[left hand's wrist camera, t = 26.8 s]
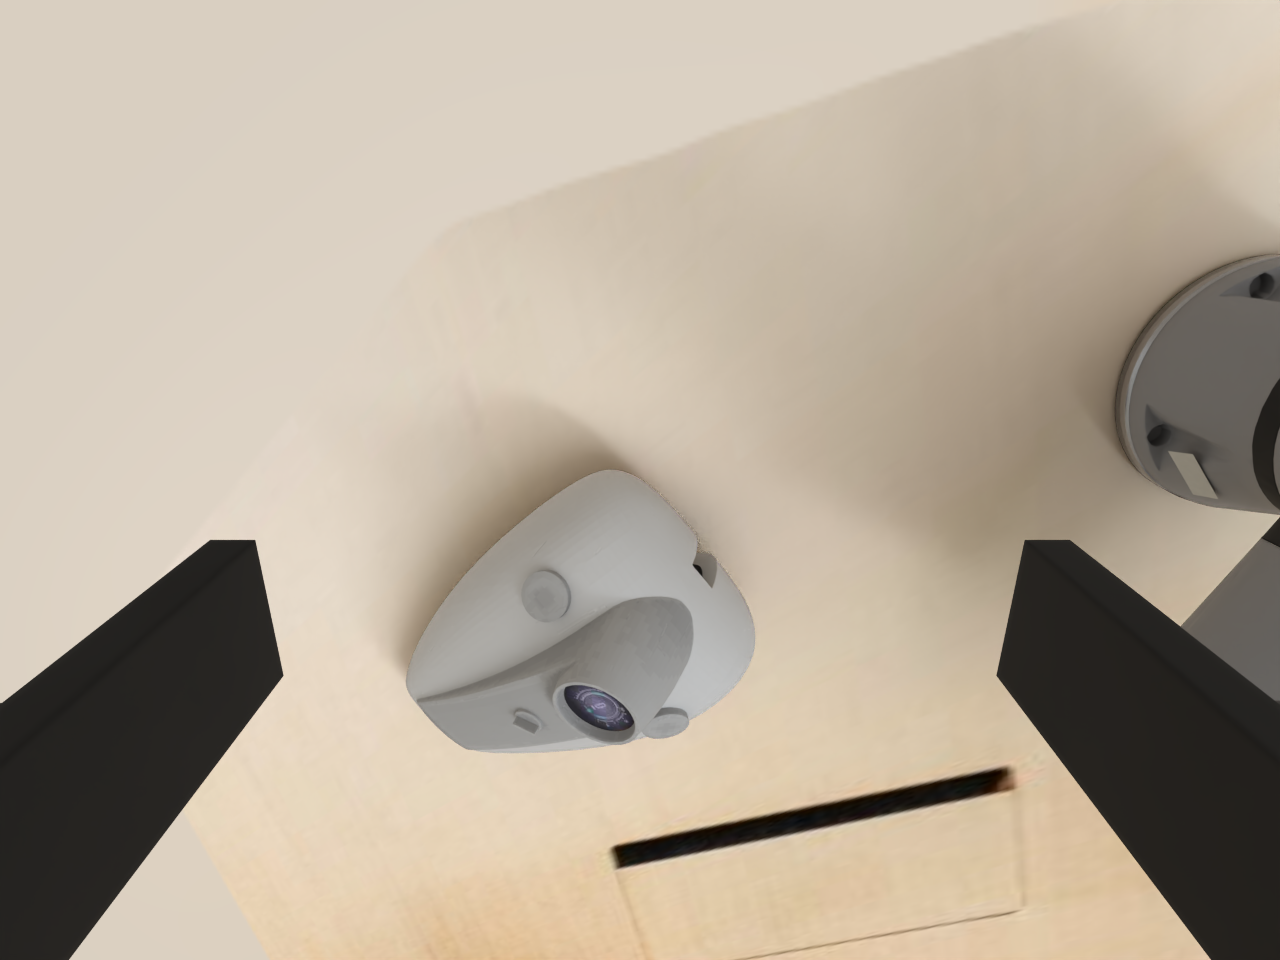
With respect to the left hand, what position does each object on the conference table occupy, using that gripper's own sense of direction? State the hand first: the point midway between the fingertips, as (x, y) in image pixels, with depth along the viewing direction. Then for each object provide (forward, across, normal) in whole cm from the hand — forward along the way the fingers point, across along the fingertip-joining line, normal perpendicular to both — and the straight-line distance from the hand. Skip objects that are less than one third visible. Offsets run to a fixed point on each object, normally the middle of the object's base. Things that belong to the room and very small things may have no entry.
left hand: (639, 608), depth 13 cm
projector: (+33, -5, -20) cm, 39 cm away
